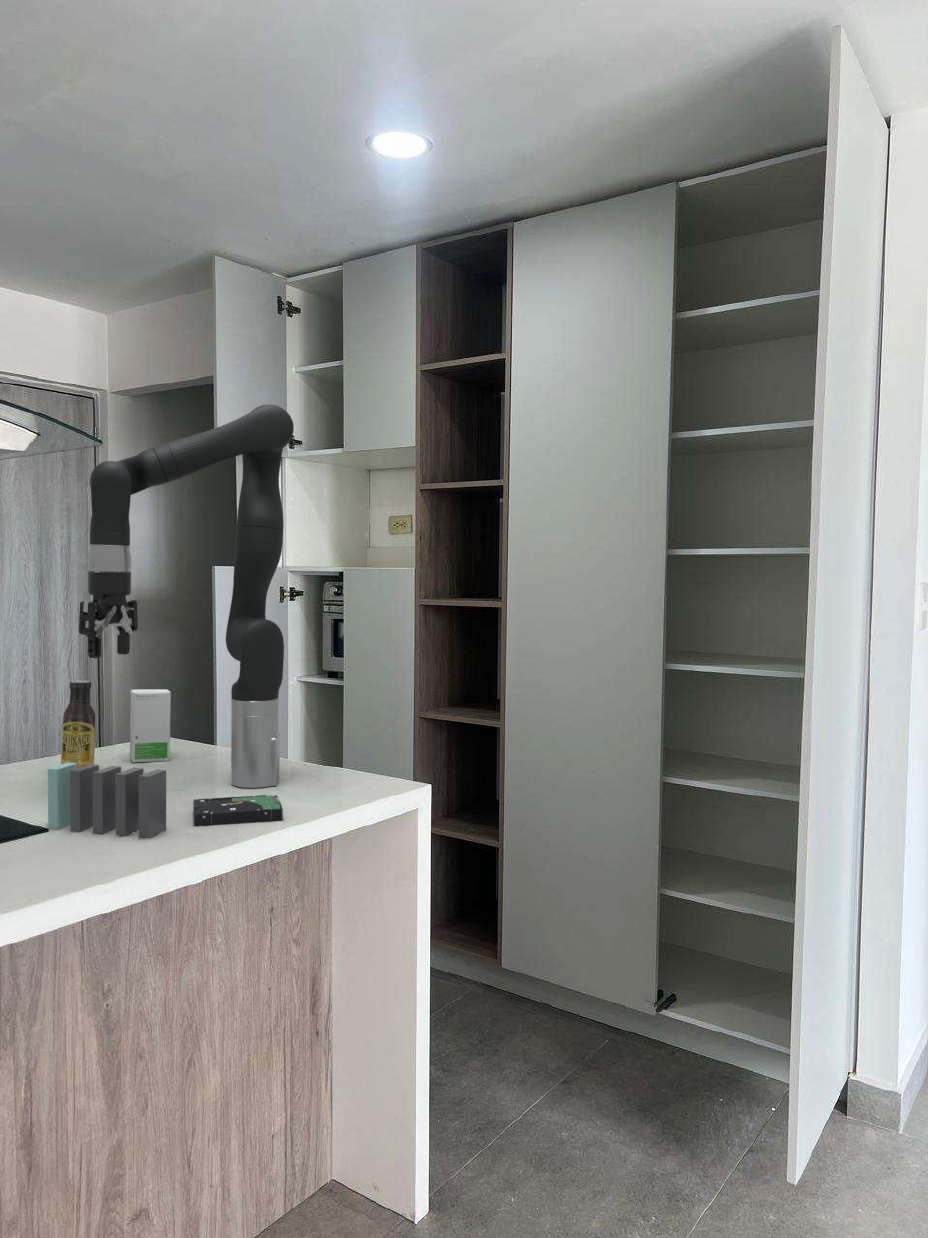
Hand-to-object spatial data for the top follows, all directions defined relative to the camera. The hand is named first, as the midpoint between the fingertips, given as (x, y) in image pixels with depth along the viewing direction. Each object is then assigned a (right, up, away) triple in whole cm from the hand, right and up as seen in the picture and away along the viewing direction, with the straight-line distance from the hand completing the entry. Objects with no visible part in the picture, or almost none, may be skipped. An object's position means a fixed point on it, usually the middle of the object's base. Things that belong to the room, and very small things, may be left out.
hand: (109, 656), depth 171 cm
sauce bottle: (-12, -26, +14) cm, 31 cm away
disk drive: (+27, -28, -12) cm, 41 cm away
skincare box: (-4, -25, +33) cm, 41 cm away
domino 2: (+4, -27, -21) cm, 35 cm away
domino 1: (0, -27, -20) cm, 34 cm away
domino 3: (+8, -28, -22) cm, 36 cm away
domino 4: (+12, -28, -23) cm, 38 cm away
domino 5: (+16, -28, -24) cm, 40 cm away
